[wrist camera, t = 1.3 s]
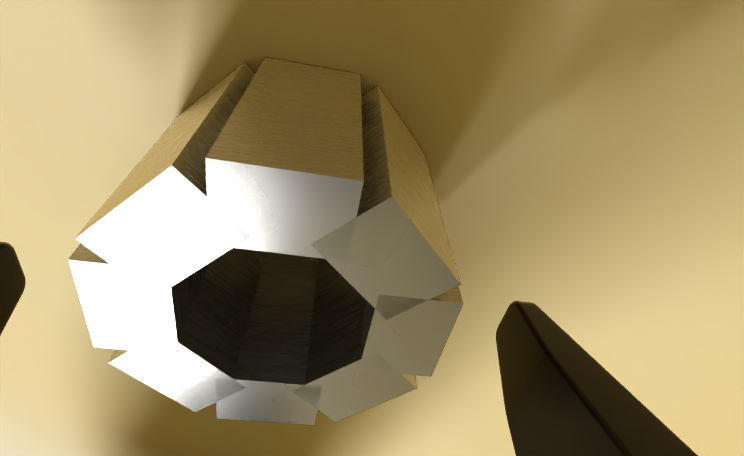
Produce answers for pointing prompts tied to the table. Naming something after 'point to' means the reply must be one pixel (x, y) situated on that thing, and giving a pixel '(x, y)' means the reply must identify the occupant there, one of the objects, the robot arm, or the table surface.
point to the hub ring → (274, 253)
